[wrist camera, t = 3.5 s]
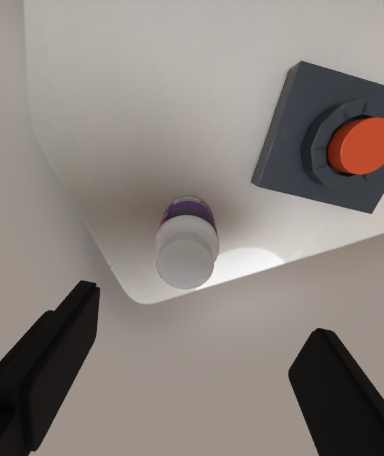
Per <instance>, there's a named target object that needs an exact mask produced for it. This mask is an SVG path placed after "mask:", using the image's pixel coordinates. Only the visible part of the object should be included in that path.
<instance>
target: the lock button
mask: <svg viewBox="0 0 384 456" xmlns="http://www.w3.org/2000/svg"><path fill="white" fill-rule="evenodd" d="M327 156H328V160H329V162H330V164H331V166H332V167H333V168H335V169H336V170H338V171H341V172H346V173H351V174H357V175H362V174H367V173H370V172H373V171H375V170H377V169H378V168H380V167H381V166H382V165H383V164H384V118H380V117H373V118H366V119H359V120H354V121H351V122H348V123H346V124H345V125H343V126H342V127H340V128H339V129H338V130H337V131H336V132H335V134H334V135H333V136H332V138H331V140H330V142H329V145H328V150H327Z"/></svg>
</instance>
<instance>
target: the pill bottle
mask: <svg viewBox="0 0 384 456" xmlns="http://www.w3.org/2000/svg"><path fill="white" fill-rule="evenodd" d="M154 250H155V254H156V257H157V270H158V273H159V275H160V276H161V278H162V279H163V280H164V281H165V282H166V283H167V284H169V285H171V286H173V287H175V288H179V289H192V288H196V287H199V286H201V285H202V284H204V283H205V282H206V281H207V280H208V279H209V278H210V276H211V274H212V272H213V268H214V262H215V260H216V259H217V256H218V253H219V240H218V235H217V231H216V227H215V223H214V219H213V215H212V212H211V210H210V208H209V207H208V205H207V204H206V203H205V202H203V201H202V200H200V199H198V198H196V197H190V196H188V197H181V198H178V199H176V200H175V201H173V202H172V203H171V204H170V205H169V206H168V208H167V210H166V211H165V214H164V216H163V219H162V221H161V224H160V226H159V229H158V231H157V234H156V236H155V240H154Z"/></svg>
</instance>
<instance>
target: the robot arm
mask: <svg viewBox="0 0 384 456" xmlns="http://www.w3.org/2000/svg"><path fill="white" fill-rule="evenodd" d="M99 298H100V288H99V287H96V283H93V282H88V281H83V280H82V281H80V282H79V283H78V284H77V285H76V286H75V288H74V289H73V290H72V291H71V292H70V293H69V295H68V296H67V297H66V298H65V299H64V300H63V302H62V303H61V304H60V305H59V306H58V307H57V309H56V310H55V311H52V310H48V311H47V312H45V313H44V314H43V315H42V316H41V317H40V318H39V319H38V320H37V321H36V322H35V323H34V325H33V326H32V327H31V328H30V329H29V330H28V331H27V332H26V333H25V335H24V336H23V337H22V338H21V339H20V340H19V341H18V342H17V343H16V345H15V346H14V347H13V348H12V349H11V350H10V351H9V352H8V353H7V354H6V355H5V357H4V358H3V359H2V360H1V361H0V456H28V455H29V454H30V452H31V451H36V450H37V449H38V448H39V446H40V445H41V443H42V441H43V439H44V437H45V435H46V433H47V432H48V430H49V428H50V426H51V424H52V422H53V420H54V418H55V416H56V414H57V412H58V410H59V408H60V406H61V404H62V403H63V401H64V399H65V397H66V395H67V393H68V391H69V389H70V387H71V385H72V384H73V381H74V380H75V378H76V376H77V374H78V372H79V370H80V368H81V366H82V364H83V362H84V360H85V359H86V357H87V355H88V353H89V350H90V349H91V347H92V345H93V343H94V341H95V338H96V332H97V322H98V321H97V320H98V309H99ZM288 376H289V380H290V382H291V385H292V388H293V390H294V393H295V395H296V398H297V401H298V403H299V406H300V408H301V411H302V413H303V416H304V419H305V421H306V424H307V426H308V429H309V431H310V434H311V436H312V439H313V441H314V444H315V447H316V449H317V452H318V454H319V456H384V399H383V398H382V396H381V395H380V394H379V392H378V391H377V390H376V388H375V387H374V385H373V384H372V383H371V382H370V380H369V379H368V377H367V376H366V375H365V373H364V372H363V370H362V369H361V368H360V366H359V365H358V364H357V362H356V361H355V359H354V358H353V357H352V355H351V354H350V353H349V351H348V350H347V349H346V347H345V346H344V344H343V343H342V342H341V340H340V339H339V338H338V336H337V335H336V334H335V333H334V332H333V331H331V330H326V329H321V328H317V329H316V330H315V331H313V332H312V333H311V335H310V336H309V338H308V340H307V341H306V343H305V344H304V346H303V348H302V349H301V351H300V352H299V354H298V356H297V357H296V359H295V361H294V363H293V364H292V366H291V367H290V369H289V372H288Z"/></svg>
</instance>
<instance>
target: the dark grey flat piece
mask: <svg viewBox="0 0 384 456" xmlns="http://www.w3.org/2000/svg"><path fill="white" fill-rule="evenodd" d="M373 117H380V118H384V85H381V84H378V83H375V82H371V81H368V80H365V79H361V78H358V77H355V76H351V75H348V74H344V73H341V72H338V71H334V70H331V69H328V68H324V67H321V66H317V65H314V64H311V63H307V62H304V61H300V62H299V63H298V64H296V65H295V66H294V67H293V68H291V69H290V70H289V73H288V75H287V78H286V81H285V84H284V87H283V90H282V93H281V96H280V99H279V102H278V105H277V108H276V111H275V114H274V117H273V120H272V123H271V126H270V129H269V132H268V135H267V138H266V141H265V144H264V147H263V150H262V153H261V156H260V159H259V161H258V164H257V167H256V170H255V173H254V176H253V179H252V183H253V184H255V185H256V186H258V187H262V188H266V189H270V190H274V191H278V192H283V193H287V194H291V195H295V196H299V197H303V198H307V199H311V200H316V201H320V202H324V203H328V204H332V205H336V206H340V207H345V208H349V209H353V210H357V211H361V212H365V213H369V214H372V212H373V211H374V209H375V207H376V206H377V204H378V202H379V200H380V199H381V197H382V195H383V194H384V164H383V165H382V166H381V167H380V168H378V169H377V170H375V171H373V172H370V173H367V174H362V175H357V174H351V173H346V172H341V171H338V170H336V169H335V168H333V167H332V166H331V164H330V162H329V160H328V156H327V150H328V145H329V142H330V140H331V138H332V136H333V135H334V134H335V132H336V131H337V130H338V129H339V128H340V127H342V126H343V125H345V124H346V123H348V122H351V121H354V120H359V119H366V118H373Z"/></svg>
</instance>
